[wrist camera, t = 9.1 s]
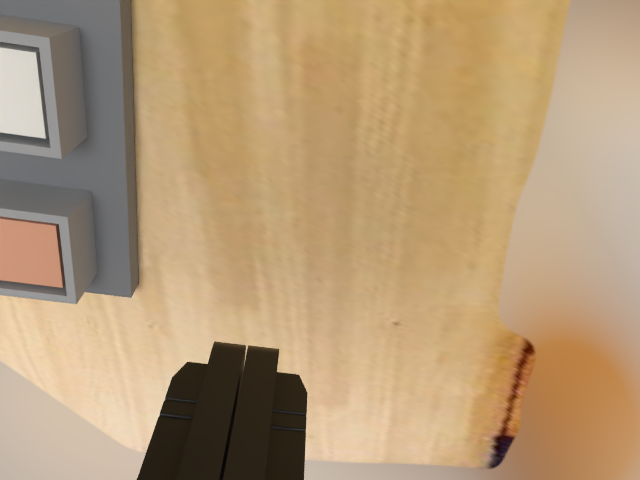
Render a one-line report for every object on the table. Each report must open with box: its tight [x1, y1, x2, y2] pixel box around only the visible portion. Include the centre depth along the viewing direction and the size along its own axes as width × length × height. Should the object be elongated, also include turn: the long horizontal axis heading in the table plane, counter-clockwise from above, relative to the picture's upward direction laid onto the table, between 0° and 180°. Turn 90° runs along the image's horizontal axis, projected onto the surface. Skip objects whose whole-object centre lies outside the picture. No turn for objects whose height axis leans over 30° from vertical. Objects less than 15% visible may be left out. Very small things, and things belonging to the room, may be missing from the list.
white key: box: [0, 42, 49, 139], centre depth 31 cm, size 5×5×2 cm
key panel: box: [0, 0, 139, 304], centre depth 36 cm, size 22×12×6 cm, turn 172°
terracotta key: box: [0, 216, 66, 288], centre depth 37 cm, size 5×5×2 cm
